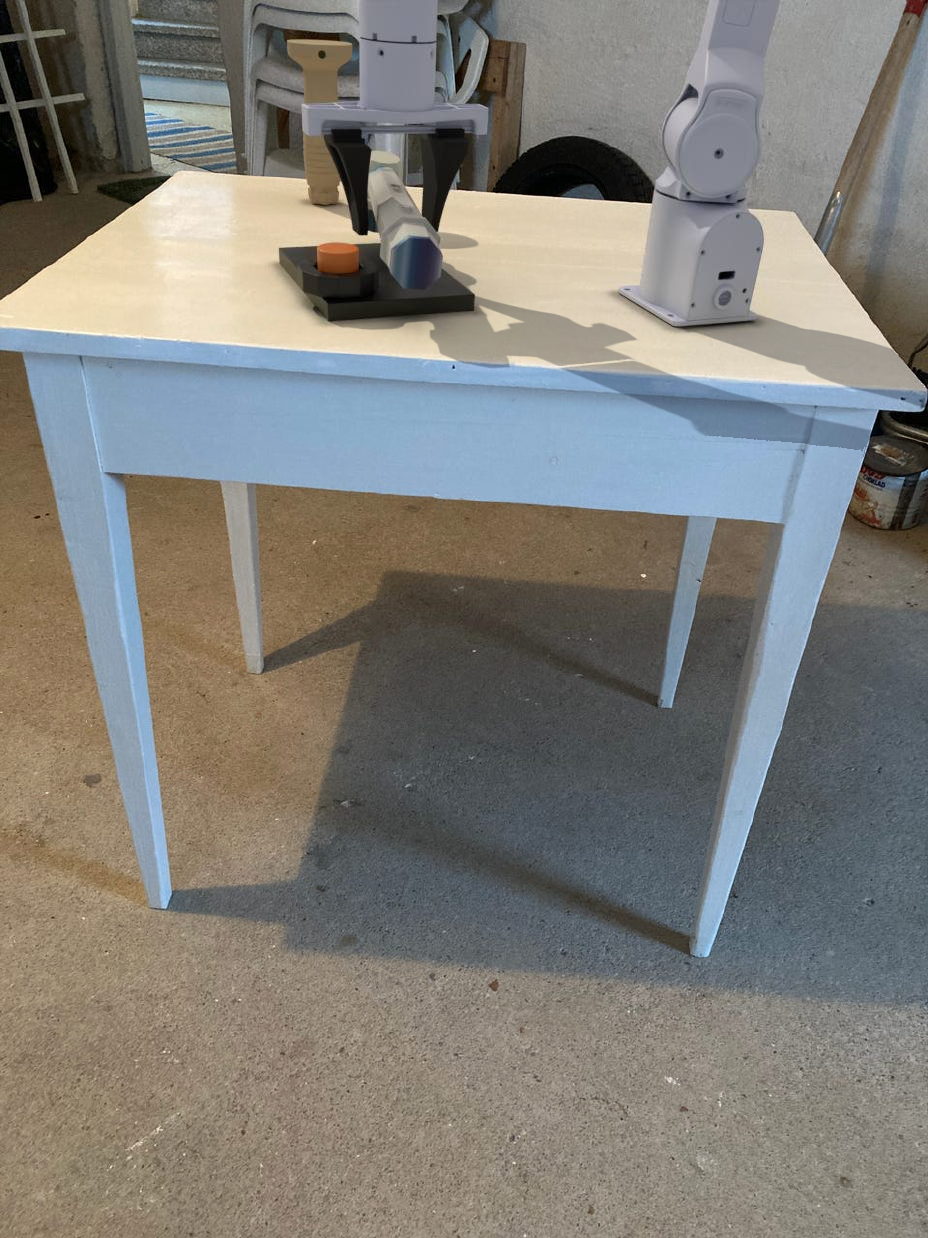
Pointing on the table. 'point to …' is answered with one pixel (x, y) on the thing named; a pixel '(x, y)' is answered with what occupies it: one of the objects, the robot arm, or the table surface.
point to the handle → (319, 88)
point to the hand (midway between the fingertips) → (395, 230)
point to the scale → (370, 288)
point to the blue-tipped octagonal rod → (401, 226)
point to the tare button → (338, 257)
